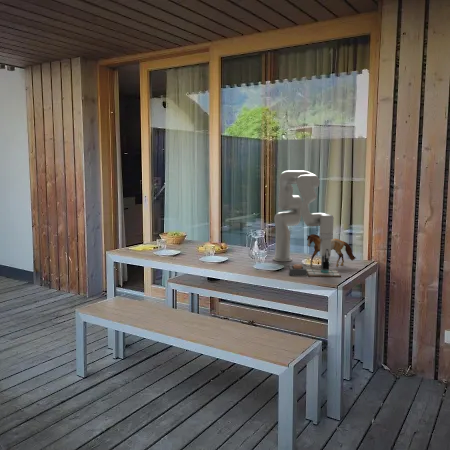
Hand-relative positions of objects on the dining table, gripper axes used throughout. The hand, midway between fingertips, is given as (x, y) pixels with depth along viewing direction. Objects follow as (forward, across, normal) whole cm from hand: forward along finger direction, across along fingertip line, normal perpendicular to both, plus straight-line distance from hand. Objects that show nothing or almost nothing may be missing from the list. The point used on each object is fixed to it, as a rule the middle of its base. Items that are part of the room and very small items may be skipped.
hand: (325, 267), depth 268 cm
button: (+1, +1, -16) cm, 16 cm away
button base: (+4, +1, -16) cm, 16 cm away
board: (+4, 0, -1) cm, 4 cm away
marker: (+3, 0, 0) cm, 3 cm away
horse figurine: (+4, -16, +6) cm, 18 cm away
